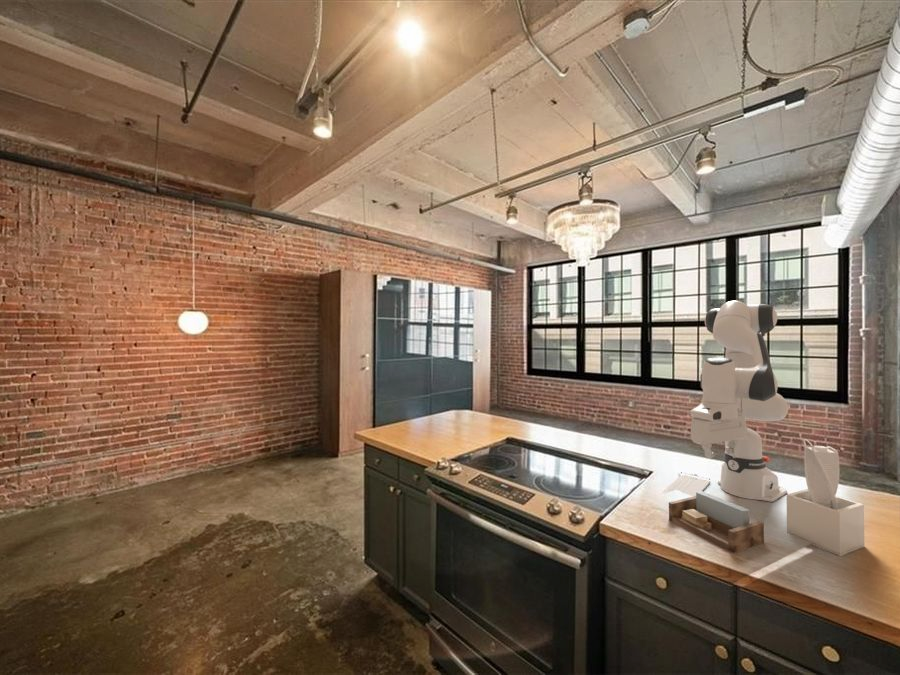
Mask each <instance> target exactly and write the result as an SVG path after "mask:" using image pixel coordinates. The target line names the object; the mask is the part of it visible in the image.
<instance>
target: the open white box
mask: <svg viewBox="0 0 900 675" xmlns="http://www.w3.org/2000/svg"><path fill="white" fill-rule="evenodd" d="M809 495H810V494H809V490H808V488H806V489H802V490H798V491H795V492H792V493H789V494H787V493H786V495H785V496H786V531H787V532H786V533H787V534H790V535H792V536H794V537H798V538H799V539H802V540H804V541H808V542H810V545H812V546H815V547H817V548H819V549H822V550H825V551H826V552H827V551H828V552H829V553H832V554H834V555H836V556H839V557H841V556H844V555H846V554H849V553H851V552H854V551H856V550H859V549H862V548H865V504H863V503H861V502H859V501H858V502H857V501H854V500H850V499H848V498H844V497H840V496H837V495H835V498H836V502H837V507H838V510H835V509H832V508H829V507H826V506H823V505H820V504H817V503H814V502H811V501H809Z"/></svg>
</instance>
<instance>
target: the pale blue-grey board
mask: <svg viewBox="0 0 900 675" xmlns="http://www.w3.org/2000/svg"><path fill="white" fill-rule="evenodd" d="M696 510H697V511H698V512H700V513H702V514H704V515H706V516H708V517H711V518H713V519H715V520H717V521H719V522H722V523H724V524H726V525H728V526H730V527H733V528H737V527H741V526H744V525H747V524H750V510H749V509H748V508H745V507H744V506H740V505H738V504H737V503H733V502H731V501H728V500H726V499H723V498H720V497H718V496H716V495H714V494H710V493H707V492H705V491H699V492H696Z"/></svg>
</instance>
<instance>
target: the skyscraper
mask: <svg viewBox="0 0 900 675" xmlns="http://www.w3.org/2000/svg"><path fill="white" fill-rule="evenodd" d="M802 442H803V445H804V454H803V455H804V456H803V457H804V459H803V461H804V462H803V464H804V477H805V481H806V486H807V489H808V490H809V494H810V495H809V501H811V502H814V503H817V504H820V505H823V506H826V507H829V508H832V509H835V510H838V507H837V502H836V498H835V496H837V491H838V487H839V484H840V483H839V482H840V456H839V452H838V450H836V449H835V448H834V447H832V446H830V445H827V446H823V445H813V443H812V442H810V440H808V439H806V438H804V439H803V440H802ZM806 442H807V443H808V444H809V446H807V443H806Z"/></svg>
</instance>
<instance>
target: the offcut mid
mask: <svg viewBox="0 0 900 675" xmlns="http://www.w3.org/2000/svg"><path fill="white" fill-rule="evenodd" d="M681 519H682V520H684V521H686V522H688V523H691V524H693V525H695V526H697V527H699V528H701V529H703V530H705V531H707V532H709V531H710V530H712V528H711V523H709V522H707V523H704V524H697V525H696V524H694V523H692V522H691V521H689V520H687V519H685V518H684V517H681Z"/></svg>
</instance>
